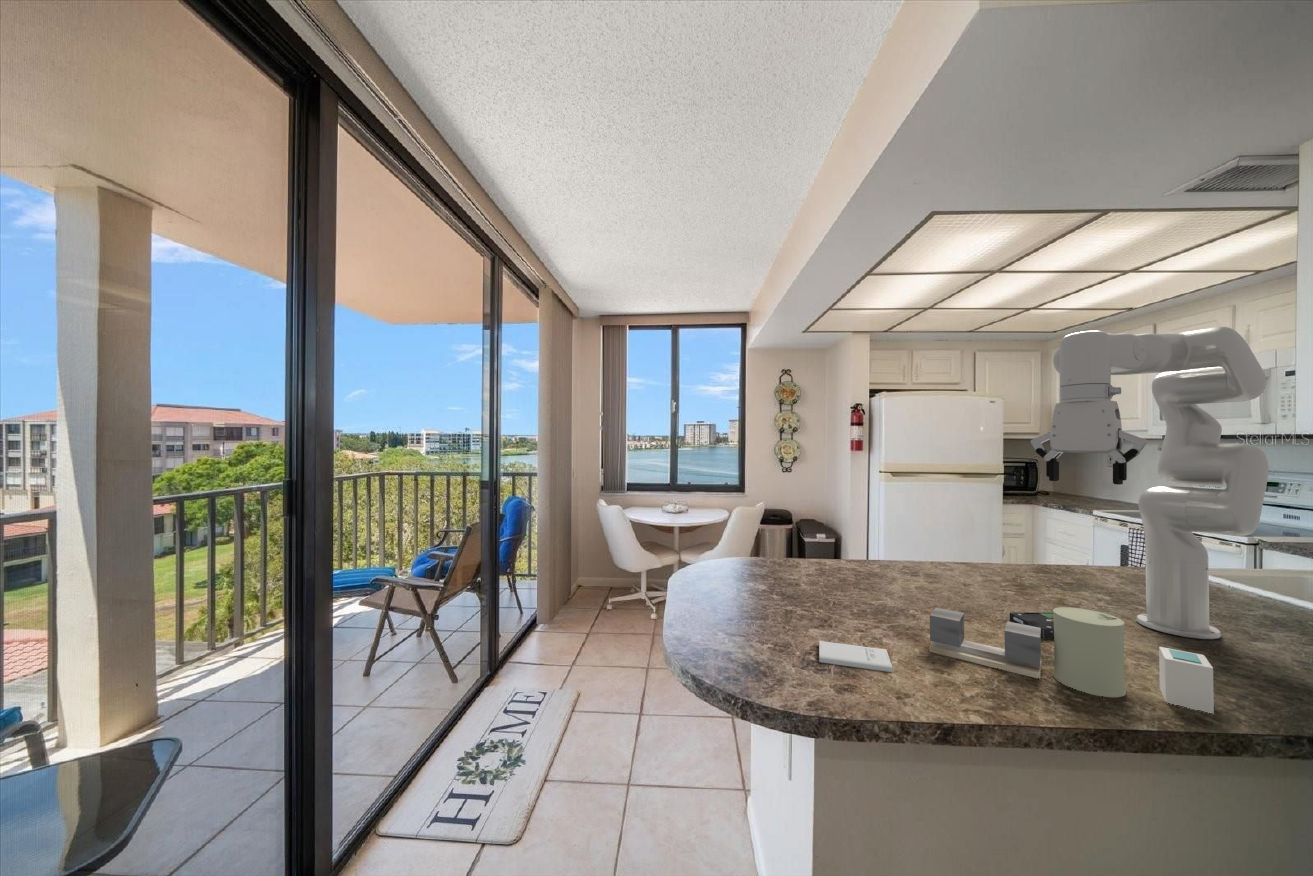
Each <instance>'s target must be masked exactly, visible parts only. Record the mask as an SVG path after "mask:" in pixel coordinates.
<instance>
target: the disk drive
mask: <svg viewBox="0 0 1313 876" xmlns="http://www.w3.org/2000/svg"><path fill="white" fill-rule="evenodd" d="M1009 622H1013V623H1018V624H1024V625H1029V626H1034V627H1039V628H1041V637H1043V638H1053V639H1052V640H1054V615H1053V612H1021V611H1019V612H1016V611H1014V612H1009ZM1043 638H1042V639H1043Z"/></svg>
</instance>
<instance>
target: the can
mask: <svg viewBox="0 0 1313 876" xmlns="http://www.w3.org/2000/svg"><path fill="white" fill-rule="evenodd" d="M1052 613H1053V615H1054V639H1053V640H1054V642H1053V644H1054V645H1053V647H1054V648H1053V649H1054V650H1053V654H1054V656H1053V657H1054V660H1053V661H1054V663H1053V678H1054V679H1055V680H1056V681H1057V682H1059V683H1060V682H1061V683H1060V684H1062V685H1064V686H1066V687H1067V688H1070V687H1071V688H1070V689H1072V688H1073V689H1072V690H1075V689H1076V690H1075V691H1078V692H1081V691H1082V692H1081V693H1084V692H1085V693H1084V694H1088V695H1093V696H1097V697H1102V696H1103V698H1115V699H1116V698H1122V697H1125V696H1126V694H1127V690H1126V684H1125V683H1126V682H1125V626H1126V623H1125V621H1124V620H1122V619H1121V618H1119V617H1117V616H1116V615H1115V616H1114V615H1112V614H1109V613H1105V612H1102V611H1097V610H1093V609H1088V608H1082V607H1081V608H1080V607H1072V606H1071V607H1069V606H1062V607H1061V606H1060V607H1055V608H1053V609H1052Z"/></svg>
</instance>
